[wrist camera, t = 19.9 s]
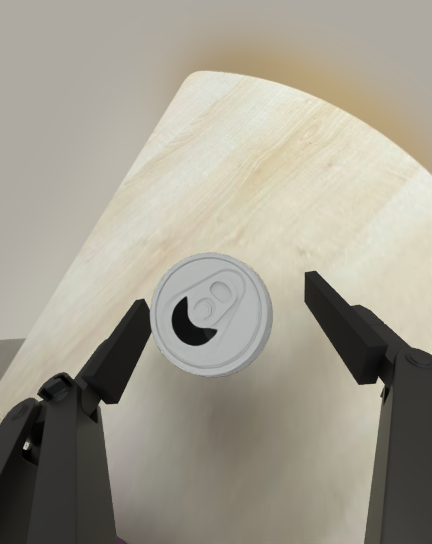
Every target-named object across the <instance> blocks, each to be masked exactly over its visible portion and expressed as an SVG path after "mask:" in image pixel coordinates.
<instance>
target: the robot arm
mask: <svg viewBox="0 0 432 544" xmlns="http://www.w3.org/2000/svg"><path fill="white" fill-rule="evenodd" d="M304 302H305V303H306V305H307V306H308V308H309V309H310V311H311V312H312V314H313V315H314V317H315V318H316V320H317V322H318V323H319V325H320V326H321V328H322V329H323V331H324V332H325V334H326V335H327V337H328V338H329V340H330V342H331V343H332V345H333V346H334V348H335V349H336V351H337V352H338V354H339V355H340V357H341V358H342V360H343V361H344V363H345V365H346V366H347V368H348V369H349V371H350V372H351V374H352V375H353V377H354V378H355V380H356V381H357V383H358V385H364V384H376V382H377V379H378V376H379V378H380V379H381V380H382V381H383V383H384V384H385V386H384V388H383V391H382V394H381V396H380V397H382V405H381V413H380V421H379V429H378V437H377V445H376V453H375V461H374V469H373V477H372V485H371V493H370V501H369V509H368V517H367V525H366V533H365V541H364V544H432V355H431V354H429V353H427V352H425V351H422V350H420V349H416V348H412V347H410V346H409V345H408V344H407V343H406V342H405V341H404V340H402V339H401V338H400V337H399V336H398V335H397V334H396V333H395V332H394V331H393V330H391V329H390V328H389V327H388V326H387V325H386V324H384V322H383V321H381V320H380V319H379V318H378V317H377V316H376V315H375V314H374V313H373V312H372V311H370V310H369V309H367V308H365V307H363V306H361V305H355V306H350V305H349V304H348V303H347V302H346V301H345V300H344V299H343V298H342V297H341V296H340V295H339V294H338V293H337V292H336V291H335V290H334V289H333V288H332V287H331V286H330V285H329V284H328V283H327V282H326V281H325V280H324V279H323V278H322V277H321V276H320V275H319V274H318V273H317V272H316V271H311V272H305V300H304ZM151 332H152V330H151V322H150V310H149V308H148V306H147V304H146V302H145V300H144V299H140V300H136V301H135V302H134V303H133V305H132V306H131V308H130V309H129V310H128V312H127V313H126V315H125V316H124V317H123V319H122V320H121V321H120V323H119V324H118V326H117V327H116V328H115V330H114V331H113V333H112V334H111V335H110V337H109V338H108V339H106V340H105V341H104V342H103V343H101V344H100V345H99V346H98V348H97V349H96V350H95V352H94V354H92V356H91V357H90V360H88V361H87V362H86V364H85V365H84V367H83V368H82V369H81V371H80V372H79V373H78V375H77V376H76V377H75V379H74V380H73V379H72V378H71V377H70V376H69V375H68V374H67V373H65V372H63V373H59V374H57V375H55V376H53V377H52V378H50V379H49V380H48V381H47V382H45V383H44V384H43V385H42V387H41V388H40V389H39V391H38V393H37V395H39V396H40V397H41V398H42V399H44V400H42V401H40V402H38V401H37V400H36V399H35V398H28V399H25V400H24V401H22V402H20V403H19V404H17V405H16V406H15V407H13V408H12V410H11V411H10V412H9V413H8V414H7V415H6V416H5V418H4V419H3V421H2V422H1V424H0V544H117V537H116V529H115V521H114V513H113V505H112V497H111V489H110V481H109V473H108V465H107V457H106V449H105V440H104V432H103V424H102V416H101V409H100V407H99V405H98V404H99V402H100V401H101V399H102V400H103V401H104V402H105V404H118V402H119V400H120V398H121V396H122V394H123V392H124V390H125V387H126V385H127V383H128V381H129V379H130V377H131V375H132V373H133V370H134V368H135V366H136V364H137V362H138V360H139V358H140V356H141V353H142V351H143V349H144V347H145V345H146V343H147V341H148V339H149V336H150V334H151ZM26 441H27V442H28V443H30V444H29V447H28V449H27V450H24V449H23V447H24V444H25V442H26Z"/></svg>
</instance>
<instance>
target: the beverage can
mask: <svg viewBox="0 0 432 544" xmlns="http://www.w3.org/2000/svg"><path fill="white" fill-rule="evenodd" d="M272 319H273V311H272V303H271V299H270V295H269V293H268V290H267V288H266V286H265V284H264V282H263V281H262V279H261V278H260V277H259V275H258V274H257V273H256V272H255V271H254V270H253V269H252V268H251V267H249V266H248V265H246V264H245V263H243V262H242V261H239V260H237V259H235V258H233V257H231V256H228V255H225V254H220V253H201V254H196V255H192V256H190V257H187V258H185V259H183V260H181V261H180V262H178V263H177V264H175V265H174V266H173V267H172V268H170V269H169V270H168V271H167V273H166V274H165V275H164V276H163V277H162V279H161V280H160V282H159V284H158V285H157V287H156V289H155V292H154V294H153V298H152V301H151V307H150V322H151V330H152V334H153V337H154V339H155V342H156V344H157V346H158V347H159V349H160V351H161V352H162V353H163V355H164V356H165V357H166V358H167V359H168V360H169V361H170V362H171V363H172V364H174V365H175V366H176V367H178V368H180V369H182V370H184V371H186V372H189V373H192V374H196V375H199V376H203V377H222V376H227V375H231V374H233V373H236V372H238V371H240V370H242V369H243V368H245V367H247V366H248V365H249V364H250V363H252V362H253V361H254V360H255V359H256V358H257V356H258V355H259V354H260V353H261V351H262V350H263V348H264V346H265V344H266V342H267V340H268V338H269V335H270V331H271V327H272Z"/></svg>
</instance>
